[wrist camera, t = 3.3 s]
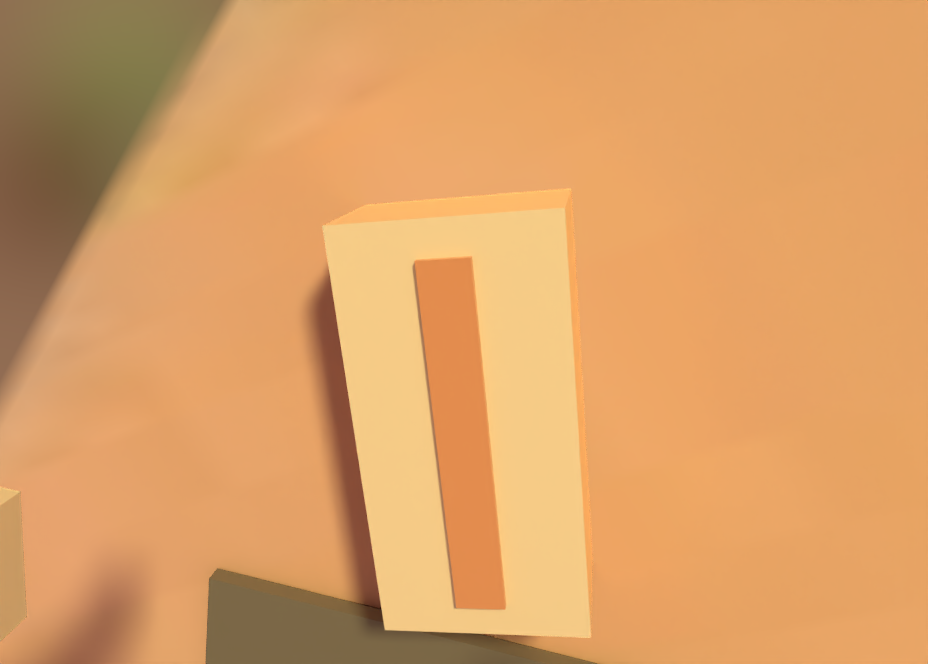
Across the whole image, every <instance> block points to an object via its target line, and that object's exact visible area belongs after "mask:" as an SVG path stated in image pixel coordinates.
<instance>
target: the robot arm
mask: <svg viewBox="0 0 928 664" xmlns="http://www.w3.org/2000/svg"><path fill="white" fill-rule="evenodd" d="M26 617H27V610H26V590H25V570H24V550H23V531H22V511H21V491H16V490H12V489H8V488H4V487H0V641H1V640H3V639H4V638H5V637H6V636H7V635H8V634H9V633H10V632H11V631H12V630H13V629H14V628H15V627H17V626H18V625H19V624H20V623H21V622H22V621H23V620H24V619H25V618H26Z"/></svg>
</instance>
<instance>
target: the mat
mask: <svg viewBox="0 0 928 664" xmlns="http://www.w3.org/2000/svg"><path fill="white" fill-rule="evenodd" d="M206 664H597V663H593V662H589V661H585V660H581V659H577V658H573V657H569V656H565V655H561V654H557V653H553V652H549V651H545V650H541V649H537V648H533V647H529V646H525V645H521V644H517V643H513V642H509V641H505V640H501V639H497V638H493V637H489V636H485V635H481V634H476V633H449V632H423V631H396V630H385V628H384V622H383V615H382V610H381V609H377V608H373V607H369V606H365V605H361V604H357V603H353V602H349V601H345V600H341V599H337V598H333V597H329V596H325V595H321V594H317V593H313V592H309V591H305V590H301V589H297V588H293V587H289V586H285V585H281V584H277V583H273V582H269V581H265V580H261V579H257V578H253V577H249V576H245V575H241V574H237V573H233V572H229V571H226V570H222V569H218V568H217V570H216V571H215V572H214V573H213V575H212V576H211V577H210V578H209V597H208V621H207V644H206Z"/></svg>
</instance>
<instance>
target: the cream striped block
mask: <svg viewBox="0 0 928 664" xmlns="http://www.w3.org/2000/svg"><path fill="white" fill-rule="evenodd" d="M322 228H323V234H324V241H325V247H326V254H327V260H328V267H329V273H330V280H331V286H332V292H333V299H334V305H335V312H336V318H337V325H338V331H339V338H340V344H341V351H342V357H343V363H344V370H345V376H346V383H347V389H348V396H349V402H350V409H351V415H352V422H353V428H354V435H355V441H356V447H357V454H358V460H359V467H360V473H361V480H362V486H363V493H364V499H365V506H366V512H367V518H368V525H369V531H370V538H371V544H372V551H373V557H374V564H375V570H376V577H377V583H378V589H379V596H380V602H381V609H382V615H383V622H384V628H385V630H396V631H423V632H449V633H476V634H503V635H529V636H556V637H582V638H591V616H592V576H593V553H592V536H591V518H590V501H589V484H588V466H587V449H586V431H585V414H584V397H583V379H582V362H581V345H580V327H579V310H578V292H577V275H576V258H575V240H574V223H573V205H572V188H568V189H555V190H542V191H530V192H517V193H505V194H492V195H479V196H467V197H454V198H442V199H429V200H416V201H404V202H391V203H379V204H366V205H364V206H362V207H360V208H358V209H356V210H354V211H352V212H350V213H348V214H346V215H343V216H341V217H339V218H337V219H335V220H333V221H331V222H329V223H327V224H325V225H323V226H322Z"/></svg>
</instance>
